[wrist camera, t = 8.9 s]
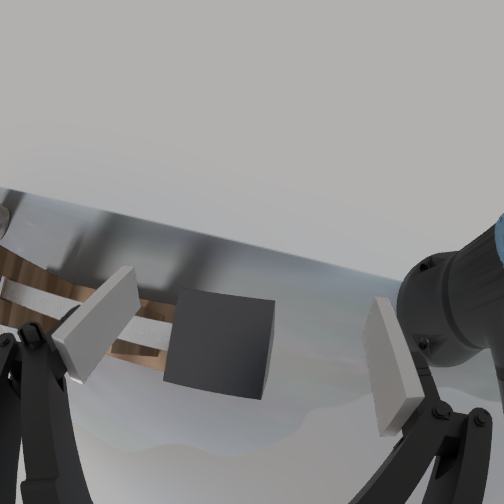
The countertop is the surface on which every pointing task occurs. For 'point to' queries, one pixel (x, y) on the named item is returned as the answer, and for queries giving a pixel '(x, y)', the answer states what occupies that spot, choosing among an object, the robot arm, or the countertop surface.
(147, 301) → the rail base
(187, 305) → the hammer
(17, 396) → the robot arm
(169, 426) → the countertop surface
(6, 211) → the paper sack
